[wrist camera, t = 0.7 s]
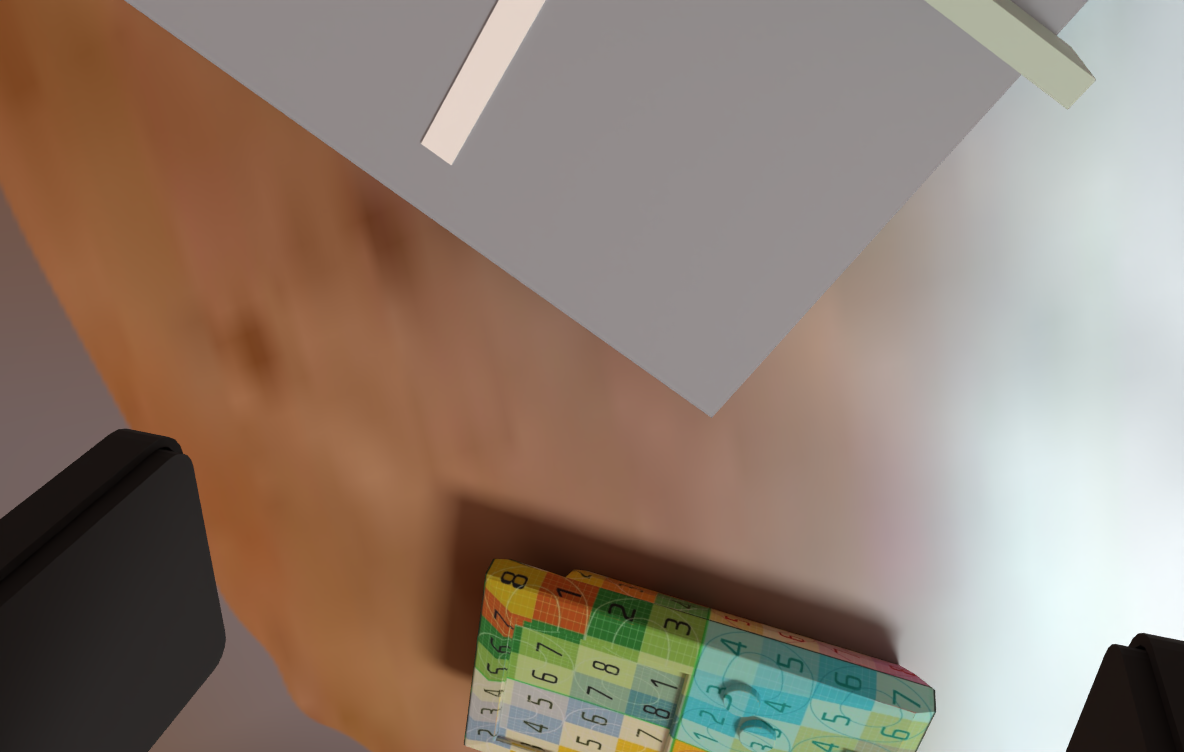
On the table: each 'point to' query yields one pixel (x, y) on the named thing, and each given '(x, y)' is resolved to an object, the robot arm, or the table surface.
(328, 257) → the table surface
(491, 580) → the puzzle game
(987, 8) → the gate panel
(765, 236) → the board
